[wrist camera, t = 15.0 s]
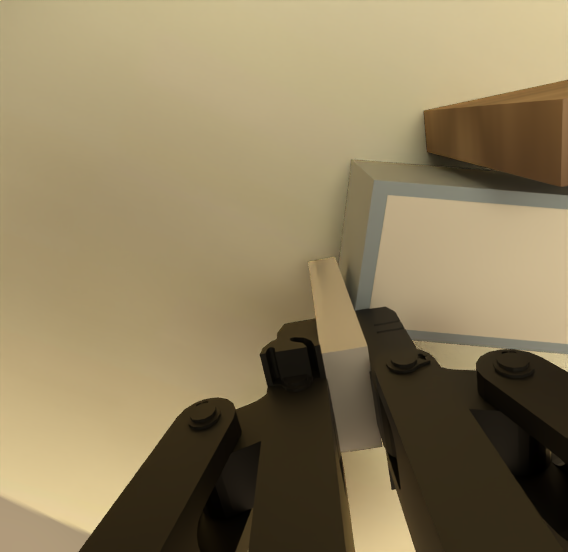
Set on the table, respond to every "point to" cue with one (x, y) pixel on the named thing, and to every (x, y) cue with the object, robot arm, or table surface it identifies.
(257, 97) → the table surface
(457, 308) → the book
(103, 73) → the table surface
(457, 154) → the shelf
